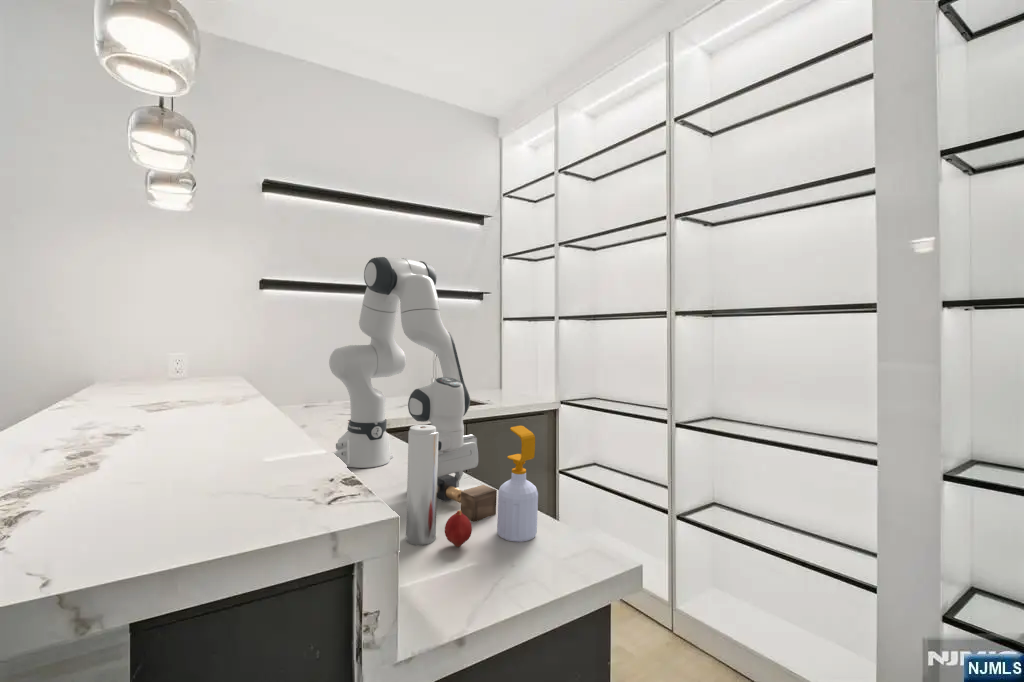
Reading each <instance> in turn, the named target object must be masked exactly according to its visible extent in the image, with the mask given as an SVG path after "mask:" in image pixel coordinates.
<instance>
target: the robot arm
mask: <svg viewBox="0 0 1024 682" xmlns="http://www.w3.org/2000/svg"><path fill="white" fill-rule="evenodd" d="M363 270H364V272H363V279H364V283H365V285H366V289H365V293H364V296H363V300H362V305H361V310H360V315H359V321H358V326H359V329H360V330H361V332H362V333H363V334H365V335H366V336H368V337H369V338H370V342H369V344H354V345H353V344H350V345H345V346H340V347H336V348H335V349H334V350H333V351H332V353H331V354H330V355H329V362H328V363H329V364H328V365H329V369H330V372H331V373H332V375H333V376H334V377H336V378H337V379H338V380H340V382H342V383H343V385H344V387H345V388H346V390H347V393H348V395H349V403H350V419H348V420H347V429H346V431H345V433H344V434H343V435H342V436H341V437H339V438H338V440H337V442H336V444H335V451H332V452H331V453H334V454H335V455H336V456H337V457H339V458H340V459H341V460H342V461H343V462H344V463H345V464H346V465H347V467H346V468H357V469H360V468H362V469H363V468H365V469H367V468H376V467H380V466H383V465H386V464H388V463H390V460H391V459H392V458H394V454H393V453H391V447H390V434H389V433H388V432H387V426H388V423H387V418H386V405H387V404H386V402H387V399H386V396H385V394H384V393H383V392H382V391H380V390H379V389H377V388H375V387H373V385H372V379H374V378H376V379H377V378H389V377H392V376H395V375H399V374H401V373H402V372H403V371H404V369H405V368H406V365H407V357H406V353H405V352H404V350H403V349H402V347H401V346H399V344H398V343H397V341H396V336H395V329H396V328H395V327H396V322H397V318H398V317H397V315H398V312H399V308H400V322H401V328H402V331H403V333H404V335H405V336H406V338H408V339H409V340H410V341H412V342H413V343H414V344H416V345H418V346H421V347H424V348H426V349H428V350H430V351H432V352H433V354H435V355H436V356H437V359H438V360H439V365H440V368H441V372H442V376H443V377H437V378H435V380H433V382H432V383H431V384H429V385H426V386H422V387H418V388H415V389H413V391H412V392H411V393H410V395H409V398H408V402H407V409H408V413H409V415H410V416H411V417H412V419H414V420H415V421H416V422H421V423H426V422H427V423H430V425H432V426H435V427H436V430H437V432H439V436H438V472H437V480H438V477H440V476H444V475H448V474H449V475H451V474H455V475H454V477H456V478H457V482H456V488H457V489H458V488H459V487H460V480H461V479H462V477H463V476H464V475H463V474H464V471H466V470H471V469H474V468H477V467H478V465H479V451H478V450H479V449H478V438H477V437H476V436H475V435H473V434H467V435H465V426H464V416H465V415H466V414H467V412H468V411H469V409H470V406H471V398H470V397H471V396H470V394H469V390H468V389H467V386H466V384H465V381H464V380H465V379H464V377H463V372H462V368H461V365H460V360H459V356H458V352H457V348H456V344H455V341H454V338H453V335H452V334H451V333H450V332H449V331H448V330H447V328H446V327H445V325H444V323H443V320H442V316H441V309H440V301H439V298H438V292H437V288H436V285H437V273H436V270H435V268H434V267H433V265H431V264H430V263H427V262H425V261H421V260H420V261H418V260H415V259H414V260H413V259H410V258H404V257H403V258H402V257H401V258H398V257H385V256H378V257H377V256H376V257H372V258H370V260H368V262H367V263H366V264H365V267H364V269H363ZM399 305H400V307H399ZM440 489H441V486H439V485H437V493H439V492H440Z"/></svg>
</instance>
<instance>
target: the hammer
mask: <svg viewBox="0 0 1024 682" xmlns="http://www.w3.org/2000/svg"><path fill="white" fill-rule="evenodd" d="M456 482H457V478H456V477H455V475H454V476H453V475H451V474H448V475H444V476H440V477H438V480H437V485H439V486H441V489H440V492H439V493H437V500H440V501H442V502H447V501H451V500H452V501H454V502H456V503H459V504H461V491H463V490H462V489H459V488H458V487H457V488H456Z"/></svg>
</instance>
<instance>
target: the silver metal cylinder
mask: <svg viewBox="0 0 1024 682" xmlns="http://www.w3.org/2000/svg"><path fill="white" fill-rule="evenodd" d="M438 436H439V432H437V430H436V427H435V426H432V425H431V424H415V425H412V426H410V427H409V430H408V436H407V437H408V439H407V440H408V441H407V442H408V444H407V447H408V448H407V479H406V481H407V487H406V520H405V521H406V526H405V541H406V542H407V543H408V544H410V545H411V546H427V545H431V544H432V543H433V542H435V540H436V538H437V507H438V506H437V505H438V503H437V502H438V498H437V472H438Z"/></svg>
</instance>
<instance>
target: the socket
mask: <svg viewBox="0 0 1024 682" xmlns="http://www.w3.org/2000/svg"><path fill="white" fill-rule="evenodd" d="M497 493H498V491H497V489H495V488H493V487H491V486H488V485H486V484H481V485H477V486H475V487H471V488H468V489H464V490H462V491H461V503H460V510H461V512H462V514H464V515H465V516H467V517H468V519H469V520H470V522H471V523H475V522H479V521H481V520H484V519H488V518H490V517H493V516H495V515H497V499H498V497H497Z"/></svg>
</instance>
